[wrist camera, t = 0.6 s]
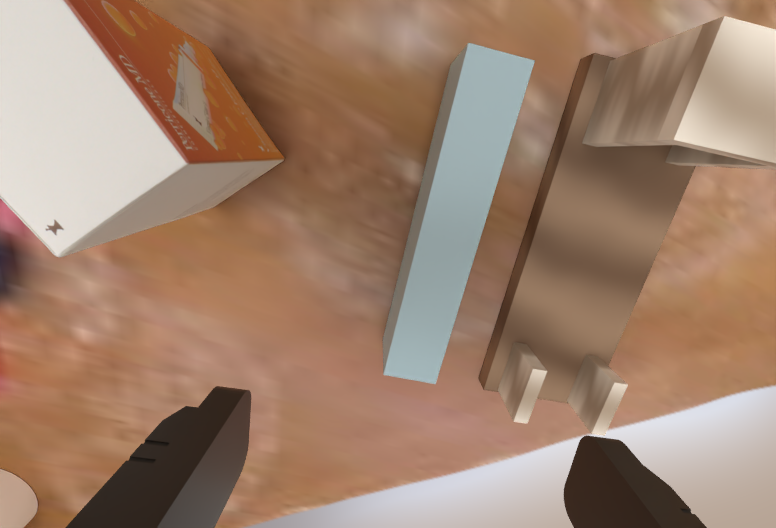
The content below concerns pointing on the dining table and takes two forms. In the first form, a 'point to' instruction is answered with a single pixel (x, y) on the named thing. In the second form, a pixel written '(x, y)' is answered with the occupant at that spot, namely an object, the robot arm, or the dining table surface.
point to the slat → (452, 206)
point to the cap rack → (622, 205)
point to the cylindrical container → (15, 501)
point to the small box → (115, 122)
